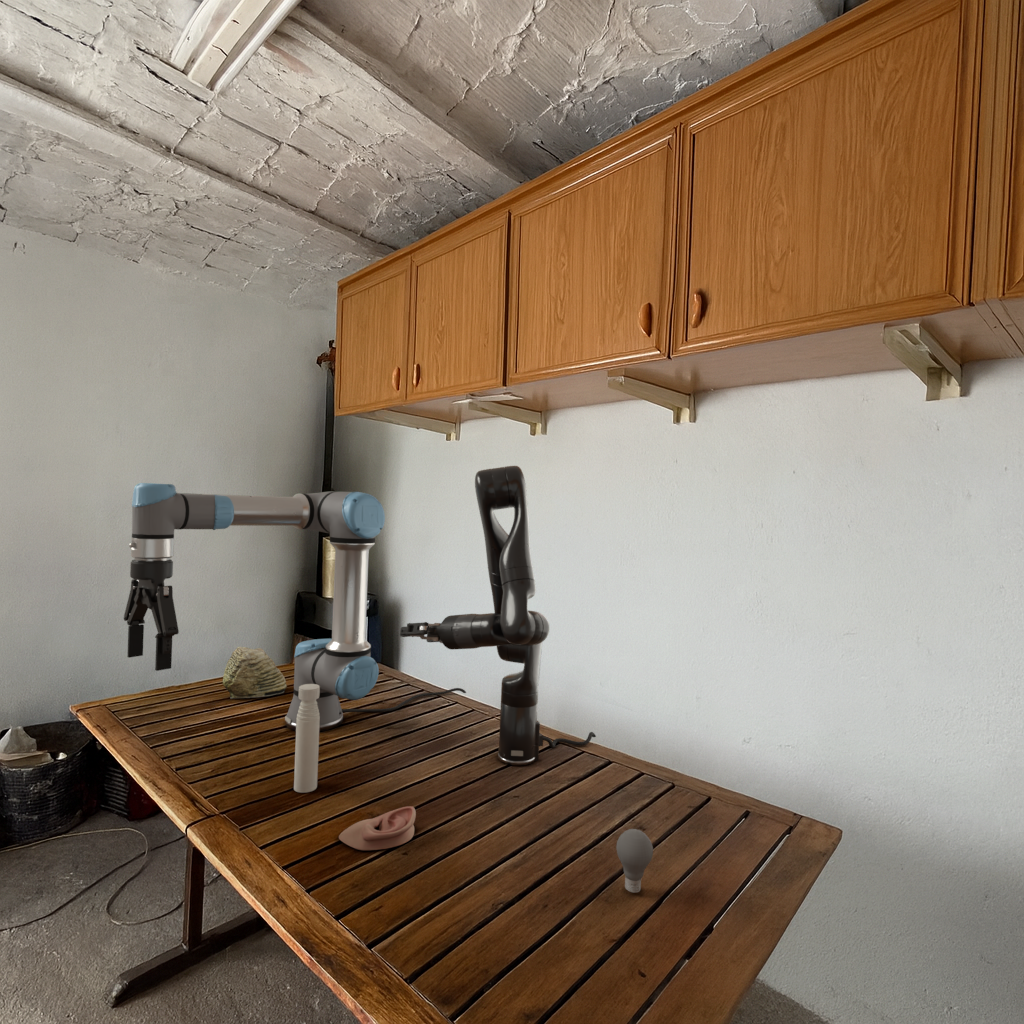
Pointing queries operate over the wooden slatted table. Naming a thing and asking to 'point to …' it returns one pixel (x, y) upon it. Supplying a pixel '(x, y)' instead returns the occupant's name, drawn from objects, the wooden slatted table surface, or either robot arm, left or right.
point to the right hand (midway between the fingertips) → (414, 634)
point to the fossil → (252, 674)
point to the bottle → (306, 747)
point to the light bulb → (634, 857)
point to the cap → (309, 692)
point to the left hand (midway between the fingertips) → (148, 662)
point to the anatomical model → (381, 830)
